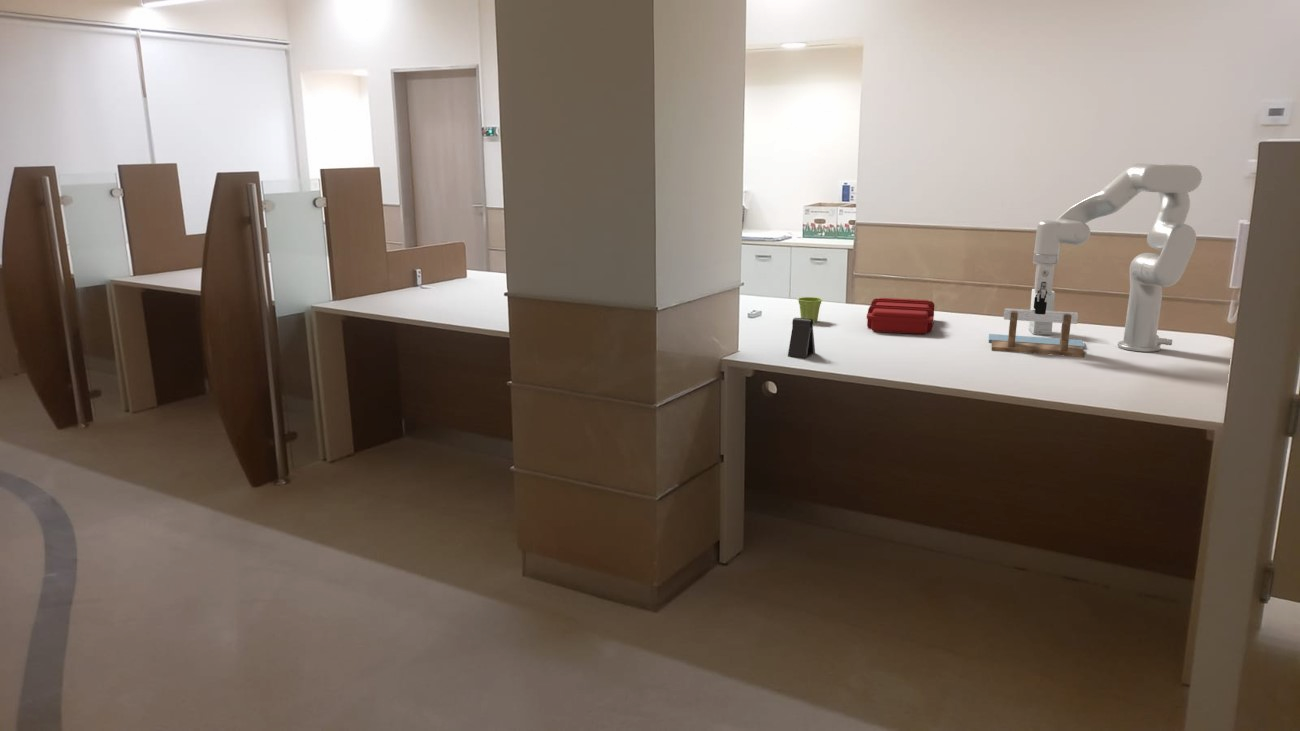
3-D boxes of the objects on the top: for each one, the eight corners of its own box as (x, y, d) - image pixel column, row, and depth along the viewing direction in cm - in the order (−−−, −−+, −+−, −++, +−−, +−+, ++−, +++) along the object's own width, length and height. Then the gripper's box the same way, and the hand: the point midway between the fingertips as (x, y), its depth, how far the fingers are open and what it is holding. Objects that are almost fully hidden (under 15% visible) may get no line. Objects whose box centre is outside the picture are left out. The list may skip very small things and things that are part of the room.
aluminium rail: (1076, 322, 293) (1077, 312, 292) (1076, 323, 290) (1078, 314, 289) (1003, 317, 300) (1004, 308, 299) (1003, 319, 297) (1004, 309, 296)
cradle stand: (1081, 350, 297) (1086, 312, 294) (1084, 357, 288) (1089, 318, 285) (991, 343, 307) (995, 307, 303) (991, 350, 298) (995, 312, 294)
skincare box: (1051, 335, 319) (1056, 292, 315) (1031, 334, 321) (1036, 291, 317) (1046, 330, 327) (1051, 288, 323) (1027, 330, 328) (1031, 287, 325)
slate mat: (1082, 342, 308) (1082, 340, 307) (1084, 349, 299) (1084, 346, 298) (988, 336, 318) (989, 333, 318) (988, 342, 309) (988, 339, 309)
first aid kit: (872, 316, 355) (873, 295, 353) (933, 320, 348) (935, 298, 346) (864, 333, 326) (866, 309, 324) (931, 337, 319) (933, 313, 317)
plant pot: (791, 320, 347) (792, 298, 345) (811, 317, 352) (812, 296, 349) (806, 324, 339) (807, 302, 337) (826, 322, 344) (827, 299, 341)
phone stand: (805, 358, 288) (806, 322, 285) (787, 356, 291) (788, 320, 288) (815, 353, 295) (816, 317, 292) (798, 350, 298) (799, 315, 295)
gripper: (1060, 263, 281) (1053, 317, 285) (1056, 257, 296) (1050, 308, 301) (1034, 261, 283) (1027, 315, 287) (1032, 255, 299) (1026, 306, 303)
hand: (1039, 311), depth 294 cm, fingers open, 9 cm apart
